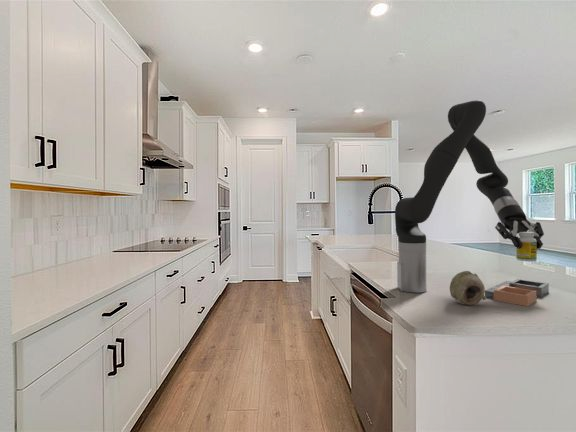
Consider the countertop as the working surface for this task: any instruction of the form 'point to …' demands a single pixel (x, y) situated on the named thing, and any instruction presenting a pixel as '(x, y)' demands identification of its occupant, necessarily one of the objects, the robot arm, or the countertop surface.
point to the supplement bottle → (527, 247)
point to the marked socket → (515, 295)
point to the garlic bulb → (467, 288)
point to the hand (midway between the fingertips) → (530, 247)
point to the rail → (523, 284)
